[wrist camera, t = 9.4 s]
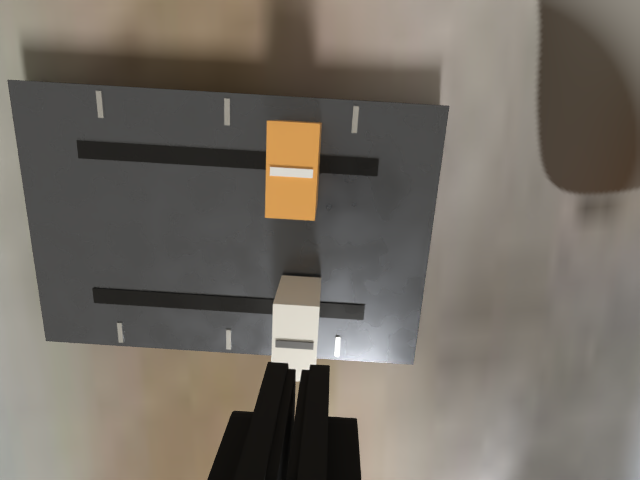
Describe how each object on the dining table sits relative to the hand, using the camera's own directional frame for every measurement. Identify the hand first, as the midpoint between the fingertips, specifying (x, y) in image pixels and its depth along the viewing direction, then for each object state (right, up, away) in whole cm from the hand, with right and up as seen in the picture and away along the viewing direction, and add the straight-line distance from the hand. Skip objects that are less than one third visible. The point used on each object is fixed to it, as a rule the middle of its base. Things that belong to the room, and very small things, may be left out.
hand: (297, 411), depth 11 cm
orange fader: (-1, +9, +12) cm, 15 cm away
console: (-5, +6, +16) cm, 17 cm away
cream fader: (-1, 0, +15) cm, 15 cm away
